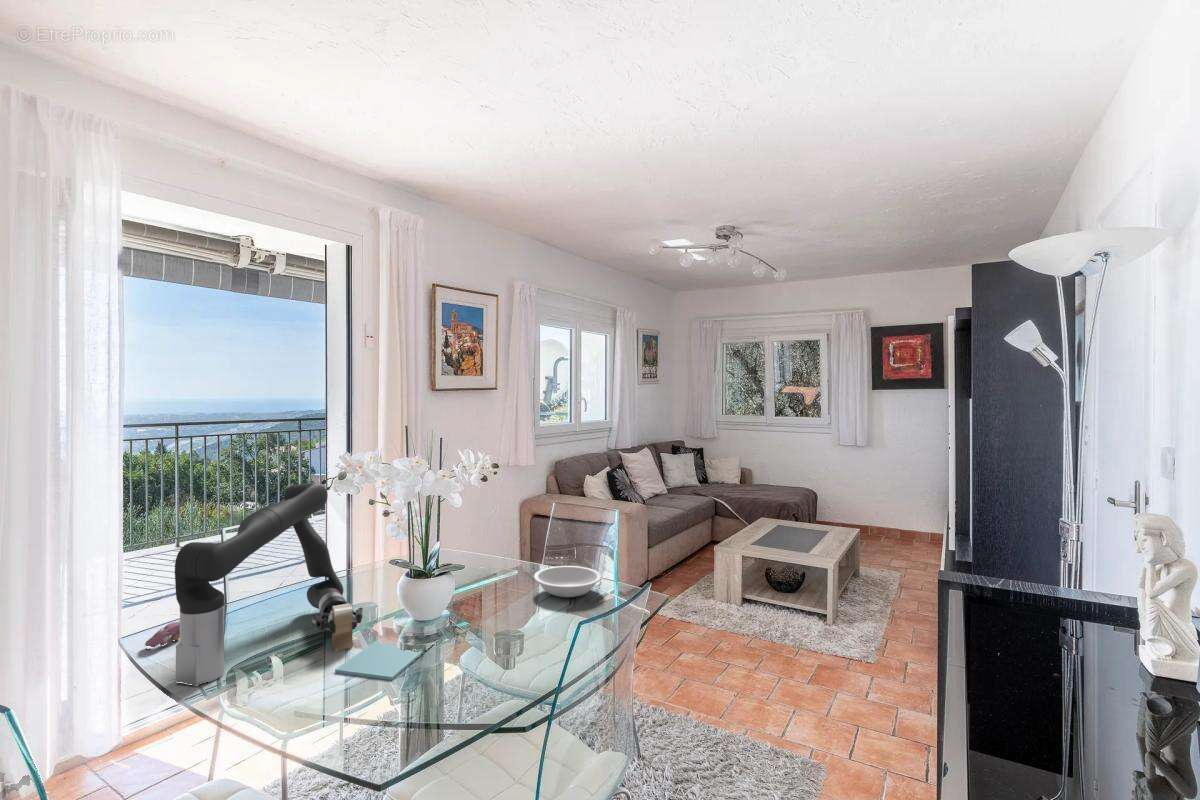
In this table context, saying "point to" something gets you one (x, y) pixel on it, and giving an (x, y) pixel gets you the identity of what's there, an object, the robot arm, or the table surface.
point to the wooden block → (342, 626)
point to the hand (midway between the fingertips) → (344, 627)
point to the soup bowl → (567, 580)
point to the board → (379, 661)
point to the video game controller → (165, 635)
